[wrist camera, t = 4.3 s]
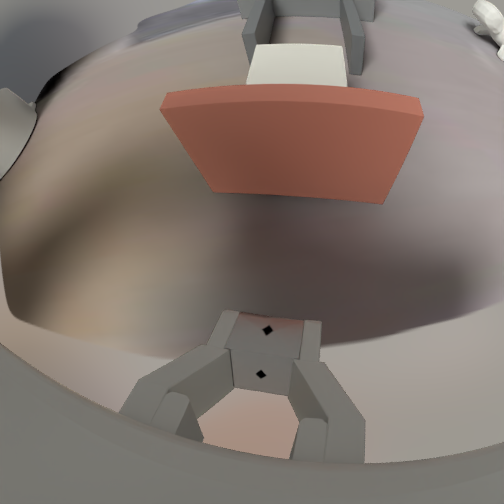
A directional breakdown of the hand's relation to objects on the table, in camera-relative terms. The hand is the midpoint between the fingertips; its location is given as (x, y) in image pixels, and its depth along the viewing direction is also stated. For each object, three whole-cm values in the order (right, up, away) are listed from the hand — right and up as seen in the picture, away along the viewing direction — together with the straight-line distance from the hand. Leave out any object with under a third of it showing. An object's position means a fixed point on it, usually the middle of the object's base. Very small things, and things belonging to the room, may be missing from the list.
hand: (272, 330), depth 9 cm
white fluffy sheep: (+39, +35, +13) cm, 54 cm away
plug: (+3, +11, +13) cm, 17 cm away
